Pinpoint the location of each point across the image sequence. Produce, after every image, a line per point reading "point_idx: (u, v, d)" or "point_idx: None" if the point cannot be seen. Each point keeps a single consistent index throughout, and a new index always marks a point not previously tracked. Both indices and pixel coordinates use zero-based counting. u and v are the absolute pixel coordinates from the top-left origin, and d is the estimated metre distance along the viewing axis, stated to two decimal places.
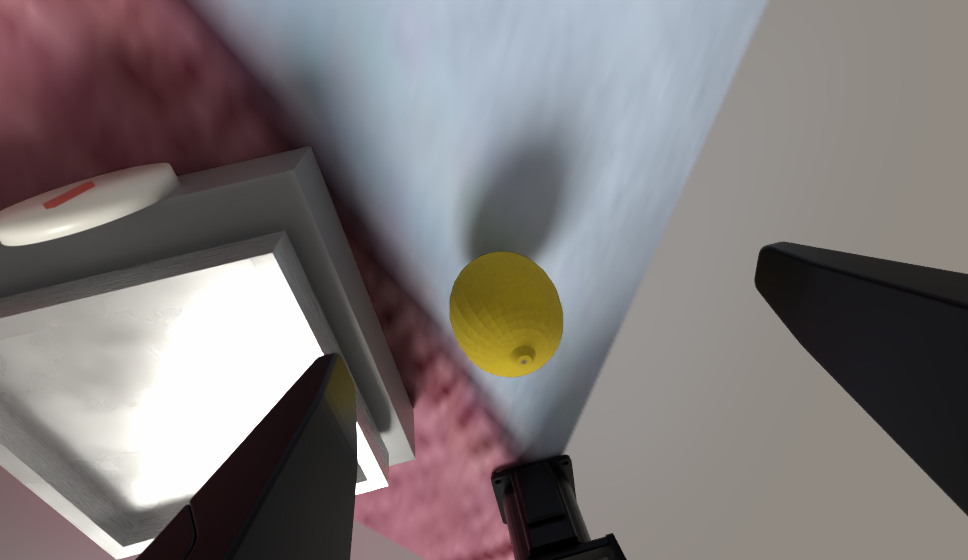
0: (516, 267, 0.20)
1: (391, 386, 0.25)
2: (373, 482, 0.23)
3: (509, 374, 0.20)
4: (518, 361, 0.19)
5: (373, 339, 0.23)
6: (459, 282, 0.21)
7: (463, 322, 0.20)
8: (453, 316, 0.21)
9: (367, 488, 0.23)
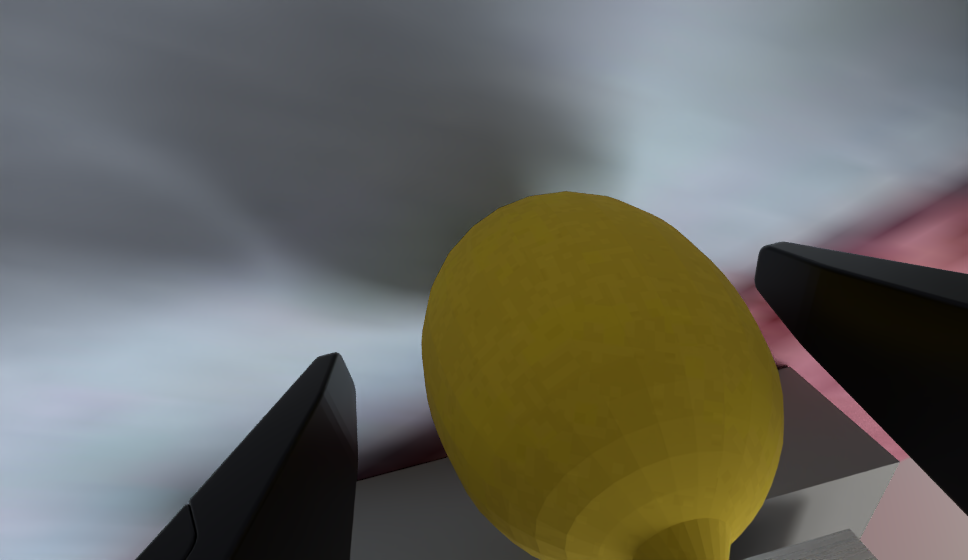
0: (426, 371, 0.07)
1: None
2: None
3: None
4: None
5: None
6: None
7: None
8: None
9: None
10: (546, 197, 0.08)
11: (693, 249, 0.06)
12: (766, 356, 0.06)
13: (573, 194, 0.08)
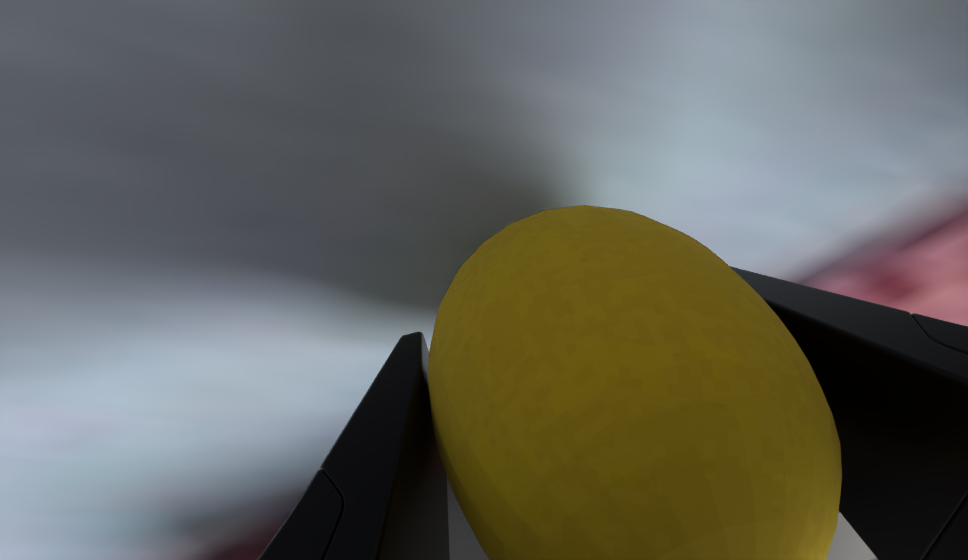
0: (433, 406, 0.06)
1: None
2: None
3: None
4: None
5: None
6: None
7: None
8: None
9: None
10: (565, 213, 0.07)
11: (732, 274, 0.06)
12: (823, 400, 0.05)
13: (594, 210, 0.07)
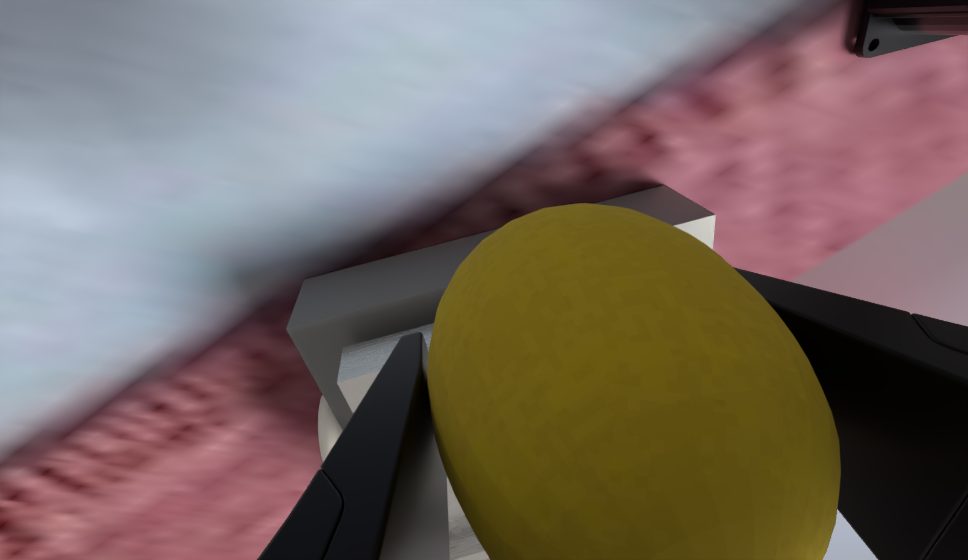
0: (433, 403, 0.06)
1: None
2: None
3: None
4: None
5: None
6: None
7: None
8: None
9: None
10: (564, 210, 0.07)
11: (731, 271, 0.06)
12: (822, 397, 0.05)
13: (594, 207, 0.07)
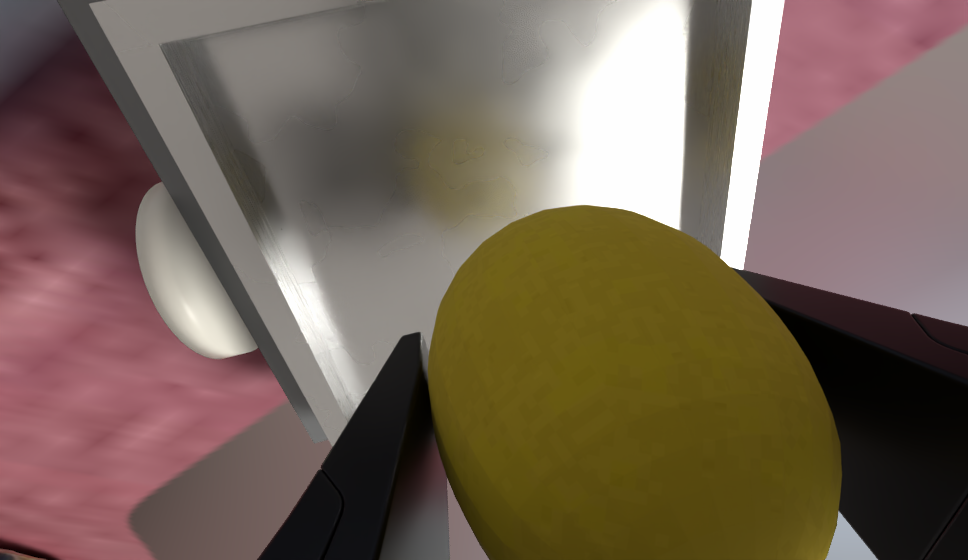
0: (433, 405, 0.06)
1: None
2: None
3: None
4: None
5: None
6: None
7: None
8: None
9: None
10: (565, 212, 0.07)
11: (732, 273, 0.06)
12: (823, 400, 0.05)
13: (594, 209, 0.07)
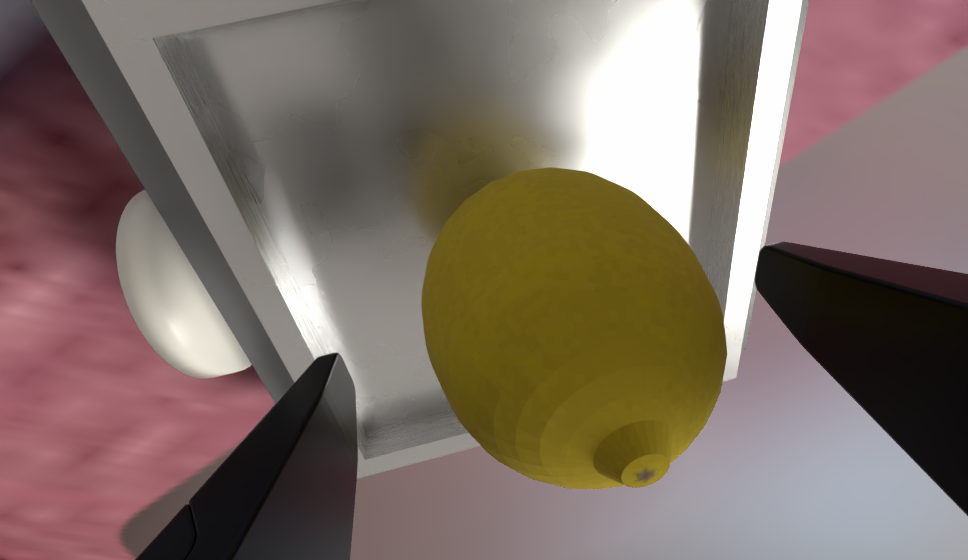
0: (425, 320, 0.08)
1: None
2: None
3: (694, 438, 0.07)
4: (637, 485, 0.06)
5: None
6: None
7: None
8: None
9: None
10: (530, 171, 0.09)
11: (653, 212, 0.08)
12: (708, 296, 0.07)
13: (553, 168, 0.09)
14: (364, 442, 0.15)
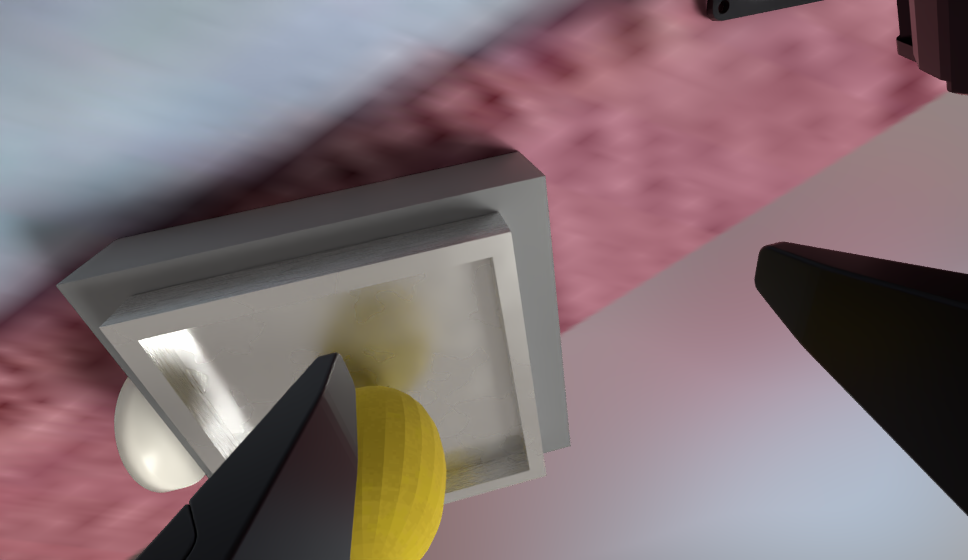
0: None
1: (415, 194, 0.17)
2: (498, 250, 0.16)
3: None
4: None
5: (334, 210, 0.17)
6: None
7: None
8: None
9: (508, 258, 0.16)
10: None
11: (401, 442, 0.14)
12: (412, 498, 0.14)
13: (363, 401, 0.16)
14: None
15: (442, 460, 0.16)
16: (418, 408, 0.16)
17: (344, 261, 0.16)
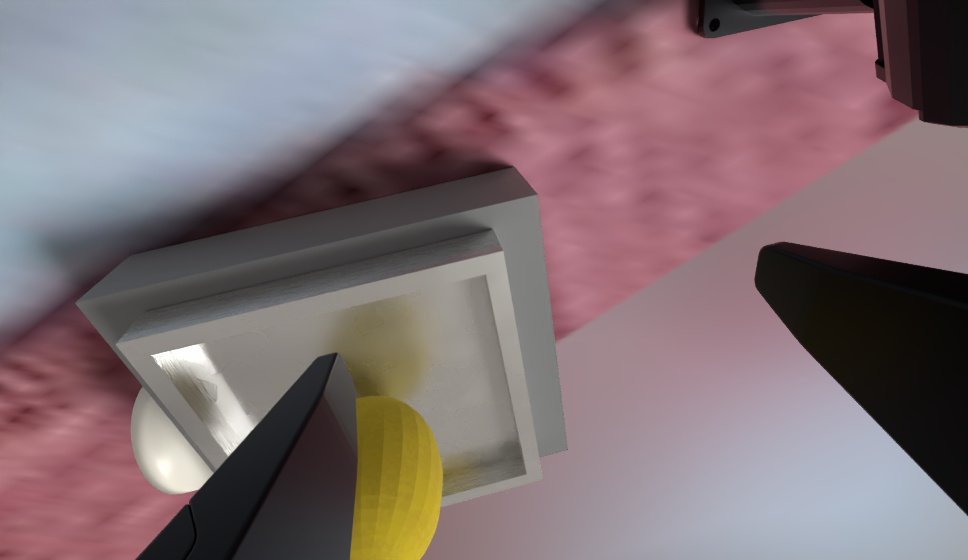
0: None
1: (413, 212, 0.18)
2: (491, 268, 0.16)
3: None
4: None
5: (335, 228, 0.18)
6: None
7: None
8: None
9: (501, 276, 0.17)
10: None
11: (399, 451, 0.15)
12: (408, 506, 0.14)
13: (363, 412, 0.16)
14: None
15: (438, 468, 0.16)
16: (416, 418, 0.17)
17: (344, 279, 0.16)
